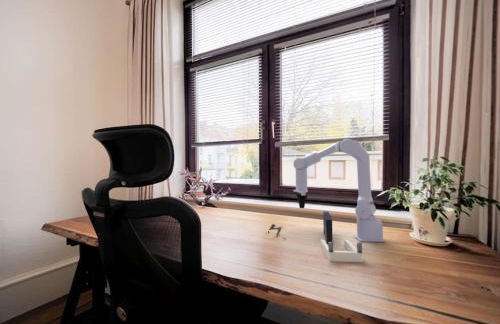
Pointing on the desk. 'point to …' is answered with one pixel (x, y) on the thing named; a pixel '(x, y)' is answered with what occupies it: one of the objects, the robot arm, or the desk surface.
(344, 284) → the desk surface
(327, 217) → the vhs cassette tape
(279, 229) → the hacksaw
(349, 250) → the rail dock
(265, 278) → the desk surface
